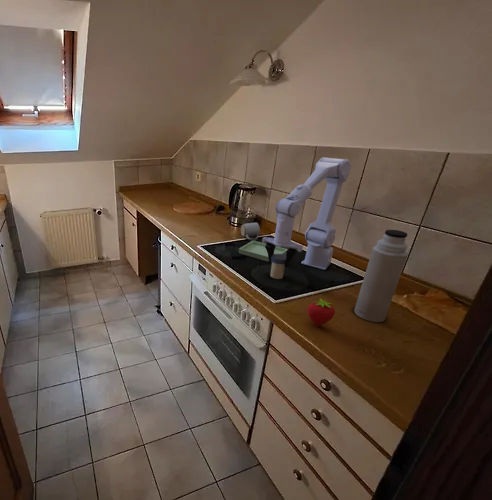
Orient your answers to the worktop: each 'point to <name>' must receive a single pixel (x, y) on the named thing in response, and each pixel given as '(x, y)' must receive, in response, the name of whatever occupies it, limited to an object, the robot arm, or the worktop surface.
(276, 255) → the jar lid
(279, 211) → the robot arm
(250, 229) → the ceramic mug
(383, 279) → the thermos bottle
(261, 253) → the tray
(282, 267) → the jar
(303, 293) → the worktop surface
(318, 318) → the strawberry
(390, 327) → the worktop surface
